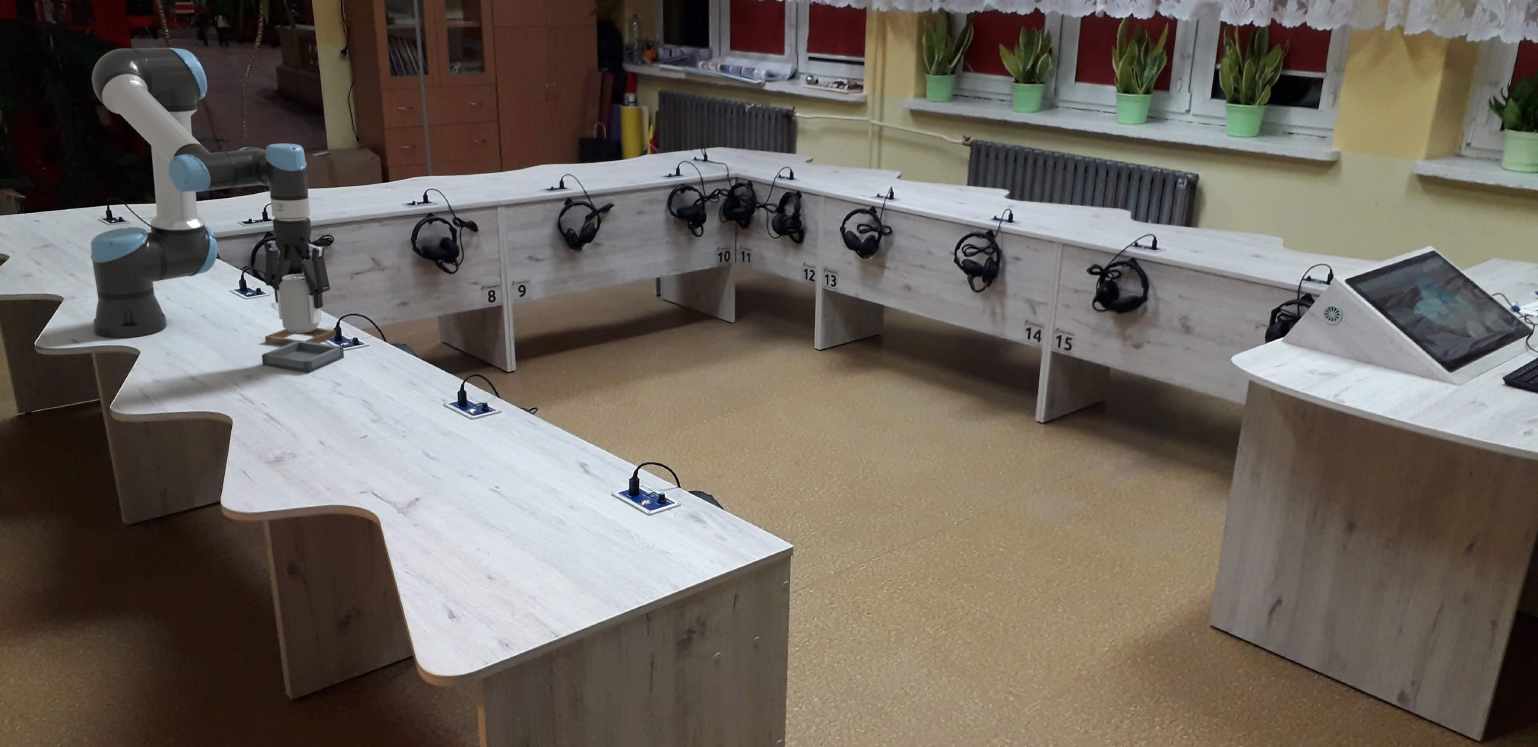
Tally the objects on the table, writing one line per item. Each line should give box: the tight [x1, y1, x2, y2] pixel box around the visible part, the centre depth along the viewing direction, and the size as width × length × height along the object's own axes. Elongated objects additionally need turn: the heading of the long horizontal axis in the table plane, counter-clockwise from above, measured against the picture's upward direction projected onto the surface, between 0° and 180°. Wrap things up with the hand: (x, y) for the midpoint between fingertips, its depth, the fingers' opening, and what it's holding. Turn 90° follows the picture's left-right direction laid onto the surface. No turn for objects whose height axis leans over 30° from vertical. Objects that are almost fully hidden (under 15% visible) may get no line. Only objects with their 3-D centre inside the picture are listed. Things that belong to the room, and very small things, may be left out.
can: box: [279, 273, 320, 334], centre depth 245 cm, size 8×8×12 cm
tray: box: [261, 339, 345, 374], centre depth 249 cm, size 12×12×2 cm
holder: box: [264, 327, 337, 347], centre depth 264 cm, size 11×11×2 cm
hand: (300, 319), depth 247 cm, fingers closed on can, 7 cm apart
